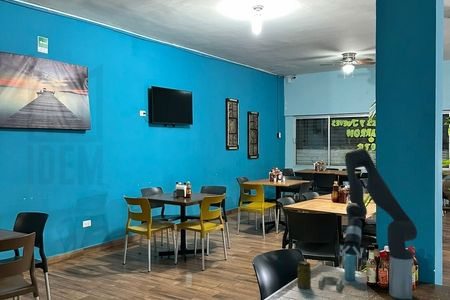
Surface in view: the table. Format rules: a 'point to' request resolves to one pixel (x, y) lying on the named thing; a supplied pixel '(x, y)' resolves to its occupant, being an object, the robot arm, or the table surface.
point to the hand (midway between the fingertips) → (349, 265)
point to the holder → (330, 283)
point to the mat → (357, 281)
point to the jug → (350, 267)
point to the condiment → (304, 275)
